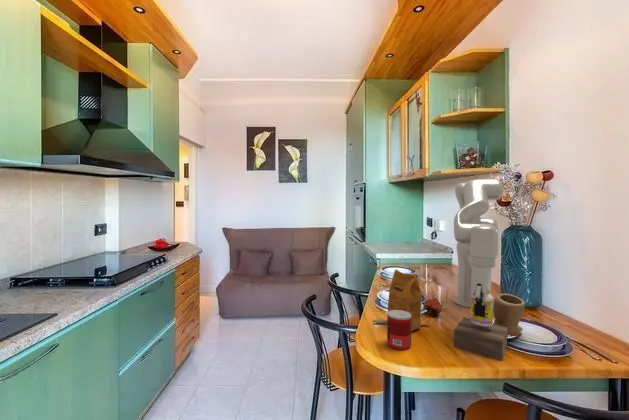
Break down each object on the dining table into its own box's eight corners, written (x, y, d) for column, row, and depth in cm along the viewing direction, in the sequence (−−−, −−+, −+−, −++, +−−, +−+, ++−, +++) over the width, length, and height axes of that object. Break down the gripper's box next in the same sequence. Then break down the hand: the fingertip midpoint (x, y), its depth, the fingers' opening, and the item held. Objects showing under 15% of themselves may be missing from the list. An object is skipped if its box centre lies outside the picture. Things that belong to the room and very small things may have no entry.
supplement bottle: (468, 323, 101) (468, 286, 101) (473, 317, 106) (473, 282, 105) (490, 329, 96) (490, 290, 96) (494, 323, 101) (495, 286, 101)
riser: (463, 332, 111) (464, 317, 111) (507, 344, 102) (508, 327, 102) (454, 346, 100) (454, 329, 100) (502, 360, 91) (502, 341, 91)
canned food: (415, 348, 99) (416, 316, 98) (394, 352, 96) (395, 319, 96) (402, 338, 106) (403, 308, 106) (383, 341, 104) (383, 310, 103)
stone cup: (517, 346, 101) (518, 303, 100) (480, 334, 110) (481, 294, 110) (532, 334, 110) (533, 295, 109) (497, 324, 119) (497, 287, 119)
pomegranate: (438, 324, 124) (449, 306, 129) (430, 312, 123) (441, 294, 127) (424, 320, 131) (434, 303, 135) (416, 308, 129) (427, 291, 133)
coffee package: (401, 318, 125) (401, 267, 124) (424, 329, 114) (425, 273, 113) (383, 323, 120) (383, 269, 119) (406, 335, 109) (406, 276, 108)
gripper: (475, 256, 110) (474, 304, 110) (464, 264, 96) (463, 317, 97) (498, 259, 105) (498, 308, 105) (490, 267, 91) (489, 323, 92)
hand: (481, 312), depth 101 cm, fingers closed on supplement bottle, 6 cm apart
